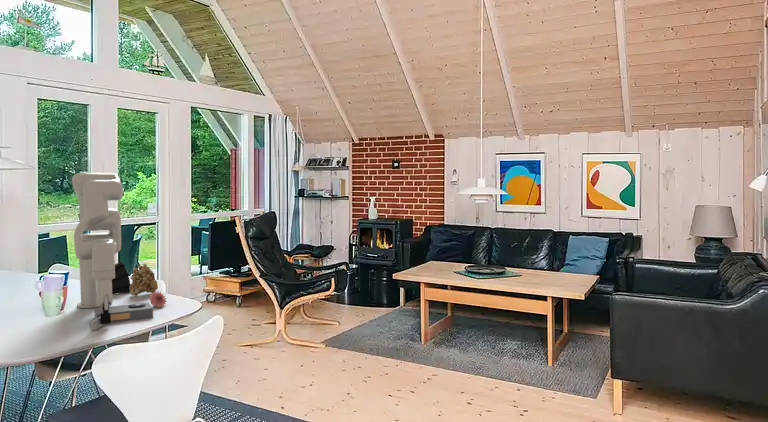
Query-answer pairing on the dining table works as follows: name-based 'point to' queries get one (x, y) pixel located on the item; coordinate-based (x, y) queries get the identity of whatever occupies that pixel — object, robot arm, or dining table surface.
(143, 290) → the mineral formation
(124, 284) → the black ridged block
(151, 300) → the flower
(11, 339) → the dining table surface
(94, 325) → the port door
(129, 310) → the camera body
